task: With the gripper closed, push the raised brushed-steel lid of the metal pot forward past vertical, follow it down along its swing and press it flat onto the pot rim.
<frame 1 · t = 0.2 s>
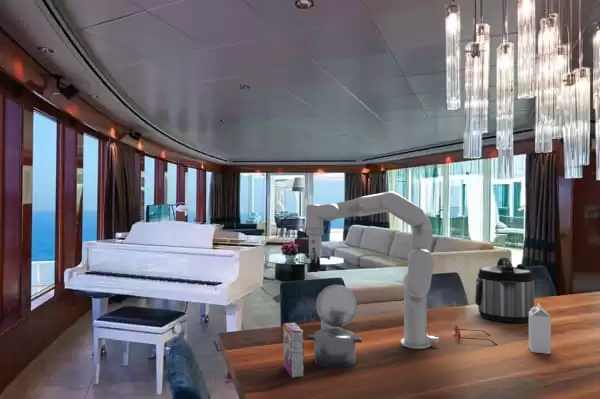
hand: (315, 270, 197), 31 cm above the table, tool pointing down, fingers open, 9 cm apart
milk carton: (539, 351, 183), on the table
pressure cooker: (503, 317, 235), on the table
glasses: (474, 340, 198), on the table
cup: (330, 340, 196), on the table
lid: (336, 305, 183), point 19 cm above the table, hinge at 100.0°
candy bar box: (293, 372, 160), on the table
pot: (334, 360, 172), on the table
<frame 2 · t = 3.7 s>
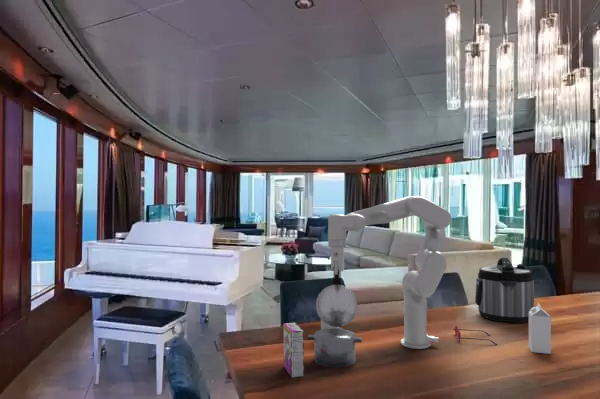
hand: (337, 287, 185), 26 cm above the table, tool pointing down, fingers closed
lid: (336, 305, 182), point 19 cm above the table, hinge at 98.8°, touching gripper
everything else where it was.
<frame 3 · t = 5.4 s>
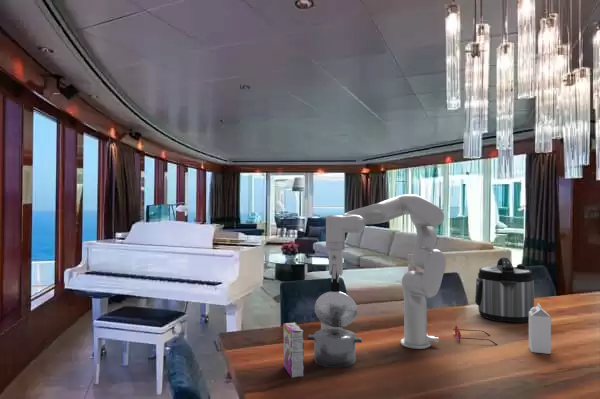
hand: (335, 292, 176), 26 cm above the table, tool pointing down, fingers closed
lid: (335, 308, 178), point 19 cm above the table, hinge at 67.2°
everything else where it was.
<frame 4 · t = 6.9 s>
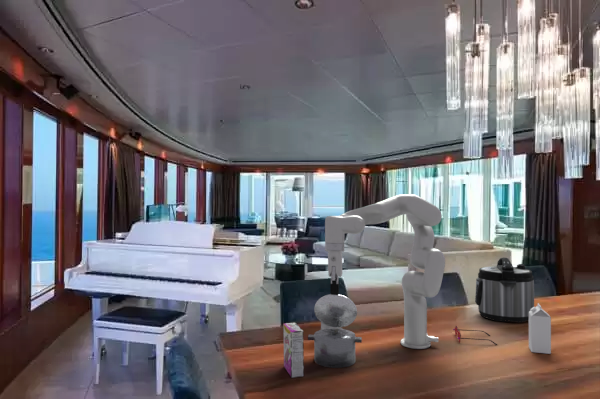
hand: (334, 293, 173), 26 cm above the table, tool pointing down, fingers closed
lid: (335, 310, 177), point 18 cm above the table, hinge at 61.1°, touching gripper
everything else where it was.
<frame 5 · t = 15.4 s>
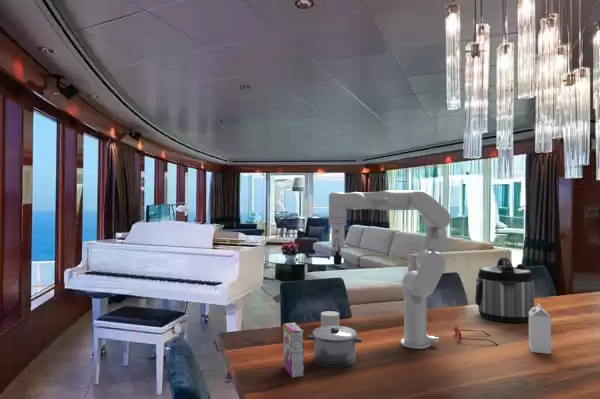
hand: (337, 264, 188), 35 cm above the table, tool pointing down, fingers closed
lid: (334, 331, 172), point 11 cm above the table, hinge at -0.2°
everything else where it was.
at the end: lid at +0° (first picture: +100°) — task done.
